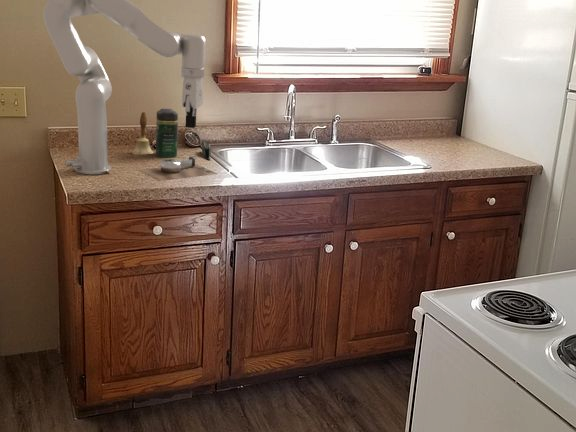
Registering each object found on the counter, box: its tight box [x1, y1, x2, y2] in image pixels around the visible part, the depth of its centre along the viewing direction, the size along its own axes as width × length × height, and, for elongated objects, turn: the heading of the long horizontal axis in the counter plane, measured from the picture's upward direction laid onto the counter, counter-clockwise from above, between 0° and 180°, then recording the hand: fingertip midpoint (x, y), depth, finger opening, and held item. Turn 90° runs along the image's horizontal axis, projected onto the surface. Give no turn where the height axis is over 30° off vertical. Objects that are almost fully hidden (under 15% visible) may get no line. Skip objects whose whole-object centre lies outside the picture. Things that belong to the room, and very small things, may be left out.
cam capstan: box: [160, 156, 196, 172], centre depth 246 cm, size 14×7×3 cm, turn 140°
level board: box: [138, 163, 219, 182], centre depth 244 cm, size 23×15×1 cm, turn 127°
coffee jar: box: [155, 108, 179, 159], centre depth 264 cm, size 10×8×19 cm
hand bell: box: [131, 111, 154, 156], centre depth 269 cm, size 8×8×16 cm
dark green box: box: [201, 141, 212, 161], centre depth 273 cm, size 5×3×15 cm
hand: (190, 127), depth 239 cm, fingers closed
